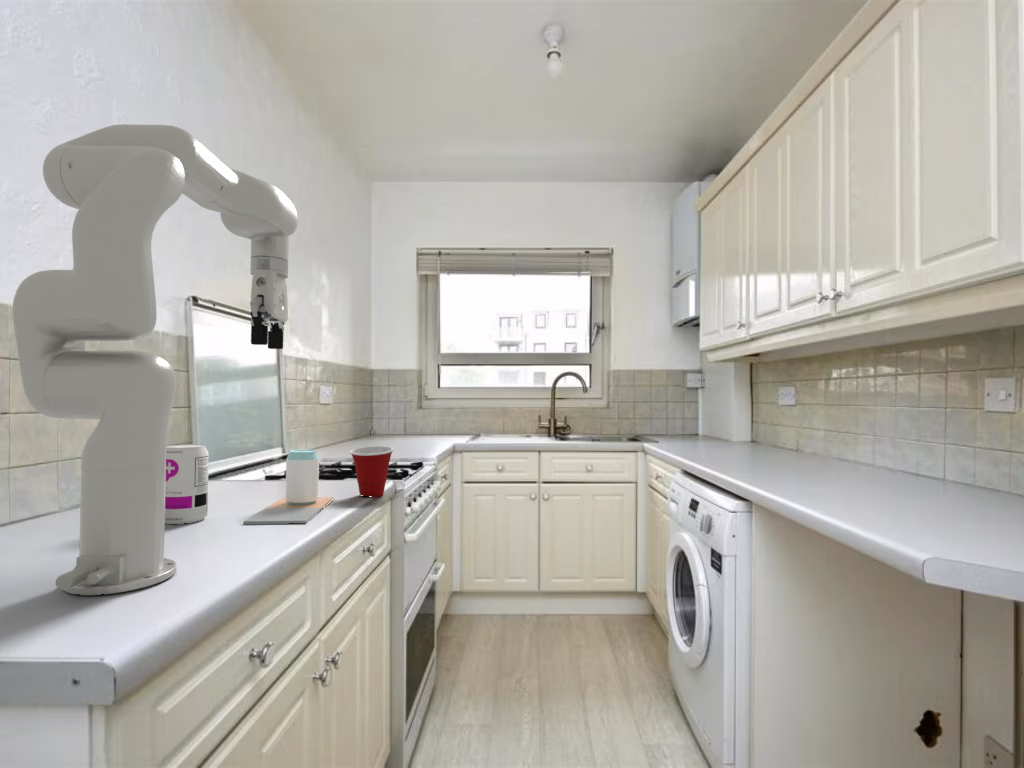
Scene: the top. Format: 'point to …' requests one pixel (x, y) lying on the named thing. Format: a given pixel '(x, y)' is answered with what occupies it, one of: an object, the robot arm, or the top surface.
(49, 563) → the top surface
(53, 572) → the top surface
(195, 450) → the supplement can
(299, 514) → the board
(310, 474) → the can
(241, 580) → the top surface
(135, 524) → the robot arm
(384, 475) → the plastic cup
